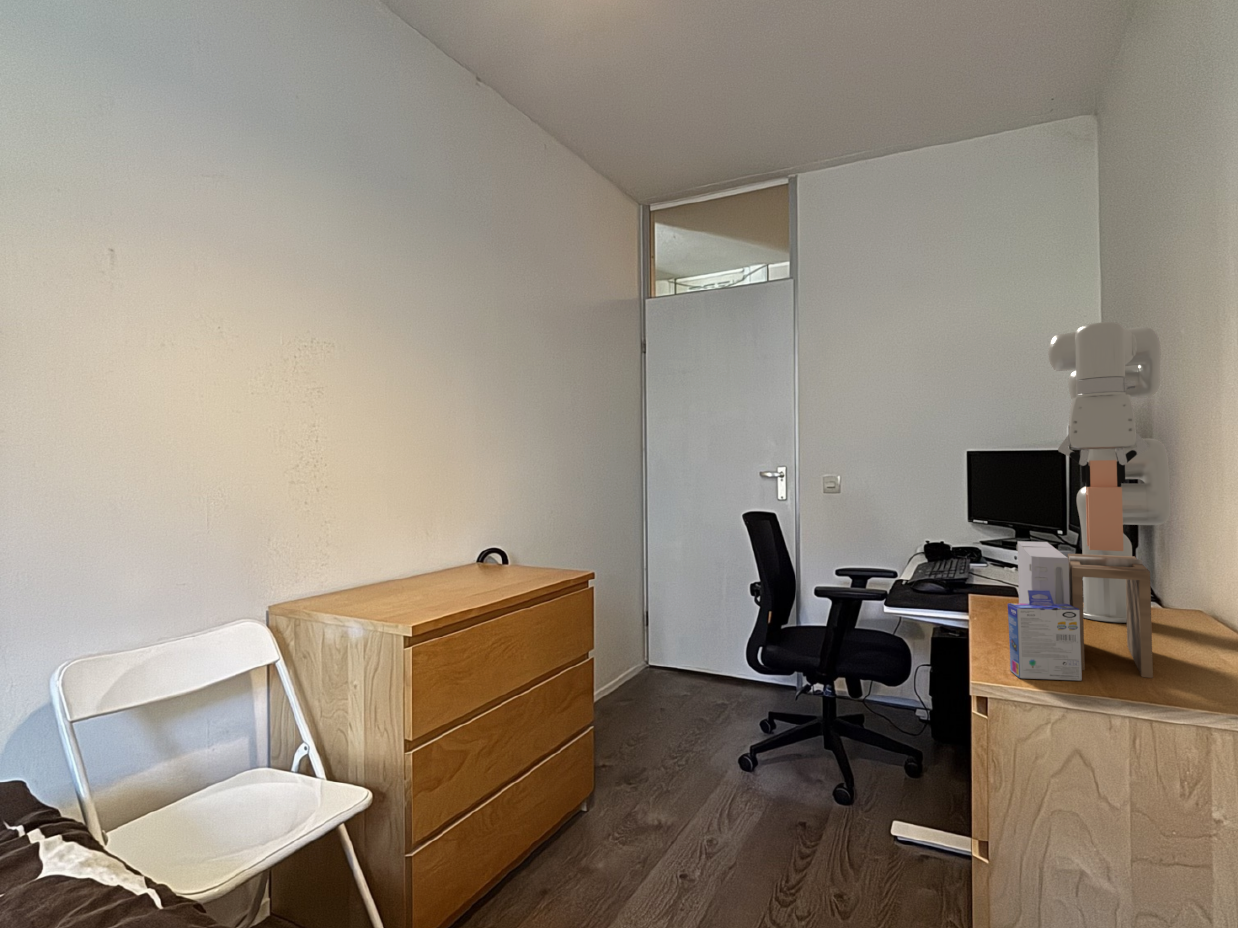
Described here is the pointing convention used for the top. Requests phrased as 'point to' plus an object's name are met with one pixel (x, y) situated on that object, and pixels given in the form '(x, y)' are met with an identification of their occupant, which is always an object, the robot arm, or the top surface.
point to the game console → (1042, 572)
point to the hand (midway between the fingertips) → (1102, 485)
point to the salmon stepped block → (1104, 507)
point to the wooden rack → (1135, 600)
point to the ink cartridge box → (1044, 639)
